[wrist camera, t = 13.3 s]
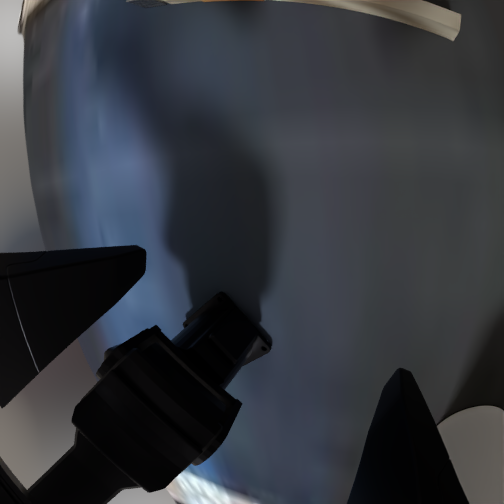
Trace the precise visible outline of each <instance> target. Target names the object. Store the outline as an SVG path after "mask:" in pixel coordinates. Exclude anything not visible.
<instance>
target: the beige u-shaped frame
mask: <svg viewBox="0 0 504 504" xmlns="http://www.w3.org/2000/svg"><path fill="white" fill-rule="evenodd" d="M198 1H203V2H213V1H264V0H127V1H126V2H128V3H132V4H135V5H138V6H141V7H144V8H150V7H156V6H162V5H167V3H170V4H178V3H187V2H198ZM275 1H289V2H300V3H309V4H317V5H324V6H331V7H337V8H343V9H348V10H353V11H358V12H363V13H367V14H372V15H376V16H380V17H384V18H388V19H391V20H395V21H398V22H402V23H405V24H408V25H411V26H414V27H418V28H421V29H423V30H426V31H429V32H432V33H435V34H437V35H440V36H442V37H445V38H448V39H450V40H452V41H454V39H455V38H456V36H457V34H458V33H459V31H460V22H461V15H460V14H458V13H455V12H453V11H450V10H448V9H445V8H443V7H440V6H437V5H434V4H432V3H429V2H426V1H423V0H275Z"/></svg>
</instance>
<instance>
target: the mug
mask: <svg viewBox="0 0 504 504" xmlns="http://www.w3.org/2000/svg"><path fill="white" fill-rule="evenodd" d="M437 428H438V430H439V433H440V435H441V437H442V440H443V442H444V445H445V447H446V449H447V452H448V454H449V457H450V458H449V459H450V460H451V462H452V464H453V467H454V469H455V472H456V474H457V477H458V479H459V482H460V484H461V486H462V488H463V490H464V493H465V495H466V497H467V499H468V501H469V504H504V411H503V410H502V409H500V408H498V407H495V406H476V407H471V408H468V409H465V410H462V411H459V412H457V413H455V414H453V415H451V416H449V417H448V418H446V419H445V420H443V421H442V422H441V423H440V424H439V425H438V426H437Z"/></svg>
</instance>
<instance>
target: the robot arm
mask: <svg viewBox="0 0 504 504" xmlns="http://www.w3.org/2000/svg"><path fill="white" fill-rule="evenodd" d="M145 270H146V250H145V249H143V248H141V247H139V246H137V245H130V246H113V247H98V248H83V249H68V250H54V251H39V252H21V253H20V252H19V253H0V406H1V408H3V407H5V406H6V405H7V404H8V403H9V402H10V401H11V400H12V399H13V398H14V397H15V396H16V395H17V394H18V393H19V392H20V391H21V390H22V389H23V388H24V387H25V386H26V385H27V384H28V383H29V382H30V381H31V380H32V379H34V378H35V376H37V375H38V374H39V373H40V372H41V371H42V370H43V369H44V368H45V367H46V366H47V365H48V364H49V363H50V362H51V361H53V360H54V359H55V358H56V357H57V356H58V355H59V354H60V353H61V352H62V351H63V350H64V349H65V348H67V346H69V345H70V344H71V343H72V342H73V341H74V340H75V339H77V338H78V337H79V336H80V335H81V334H82V333H83V332H84V331H86V330H87V329H88V328H89V327H90V326H91V325H92V324H93V323H95V322H96V321H97V320H98V319H99V318H100V317H101V316H103V315H104V314H105V313H106V312H107V311H108V310H109V309H111V308H112V307H113V306H114V305H115V304H116V303H117V302H118V301H119V300H120V299H121V298H122V297H123V296H124V295H125V294H126V293H127V292H128V291H129V290H130V289H131V288H132V287H133V286H134V285H135V284H136V283H137V282H138V281H139V279H140V278H141V277H142V276H143V275H144V273H145ZM220 297H221V298H222V299H223V300H222V299H221V298H220ZM183 326H184V329H183V330H182V331H181V332H180V333H179V334H178V335H177V336H175V337H174V338H173V339H172V340H169V339H168V338H167V337H166V336H165V335H164V334H163V333H162V332H161V329H160V328H159V327H158V326H157V325H155V326H153V327H152V328H150V329H148V328H147V329H145V330H143V331H141V332H140V333H139V334H137V335H135V336H134V337H132V338H130V339H129V340H127V341H125V342H124V343H122V344H119V345H116V346H114V347H111V348H109V349H107V350H106V351H105V353H104V362H103V363H102V365H101V367H100V368H99V369H98V371H97V373H96V376H97V377H98V378H99V379H100V380H99V381H98V382H97V384H96V385H95V386H94V387H93V388H92V389H91V390H90V391H89V392H88V393H87V394H86V395H85V396H84V397H83V398H82V400H81V401H80V403H78V404H77V405H76V407H75V409H74V413H73V416H72V423H73V425H74V426H75V427H76V433H75V442H74V445H73V446H72V447H71V448H70V449H69V450H68V451H67V452H66V453H65V454H64V455H63V456H62V457H61V458H60V459H59V460H58V461H57V462H56V463H55V464H54V465H53V466H52V467H51V468H50V469H49V470H48V471H47V472H46V473H45V474H43V475H42V477H40V478H39V479H38V480H37V481H36V482H35V483H34V484H33V485H32V486H31V487H30V488H29V489H28V490H26V488H25V487H24V486H23V485H22V484H21V483H20V481H19V480H18V479H17V478H16V476H15V475H14V474H13V473H12V472H11V470H10V469H9V468H8V466H7V465H6V464H5V463H4V461H3V460H2V458H1V457H0V504H107V503H108V502H109V501H110V500H111V499H112V498H114V497H115V496H116V495H117V494H118V493H119V492H120V491H122V490H124V489H131V488H140V487H142V488H143V489H144V490H146V491H147V492H154V491H158V490H161V489H164V488H166V487H167V486H168V485H169V484H170V483H171V482H172V481H173V479H174V478H176V477H177V476H178V475H179V474H180V473H181V472H182V471H183V470H185V469H186V468H187V467H188V466H189V465H190V464H191V463H192V464H193V465H194V466H196V465H199V464H201V463H203V462H204V461H205V460H207V459H208V458H209V457H210V456H211V455H212V454H213V453H214V452H215V451H216V450H217V449H218V448H219V447H220V445H221V444H222V443H223V441H224V440H225V438H226V437H227V435H228V433H229V431H230V429H231V427H232V424H233V422H234V420H235V418H236V416H237V414H238V412H239V410H240V408H241V406H242V403H241V402H240V401H239V400H238V399H235V398H234V397H232V396H231V395H230V394H229V393H228V392H226V391H225V388H226V387H227V386H228V385H229V383H230V382H231V381H232V379H233V378H234V377H235V375H236V374H237V373H238V371H239V370H240V369H241V367H242V366H244V365H246V364H248V363H250V362H252V361H254V360H256V359H257V358H259V357H261V356H263V355H265V354H267V353H268V352H269V351H270V350H271V345H270V343H269V342H268V341H267V340H266V339H265V338H264V337H263V336H262V334H261V333H260V332H259V331H258V330H257V329H256V328H255V327H254V326H253V324H252V323H251V322H250V321H249V320H248V319H247V318H246V317H245V316H244V314H243V313H242V312H241V311H240V310H239V309H238V308H237V306H236V305H235V304H234V303H233V302H232V301H231V300H230V298H229V297H228V296H227V295H226V294H225V293H223V292H219V293H218V294H217V295H215V296H214V297H213V298H212V299H211V300H209V301H208V302H207V303H206V304H205V305H204V306H202V307H201V308H200V309H199V310H198V311H196V312H195V313H194V314H193V315H192V316H191V317H189V318H188V319H187V320H186V321H185V322H184V323H183ZM264 347H266V348H264ZM449 458H450V457H449V454H448V452H447V449H446V447H445V445H444V442H443V440H442V437H441V435H440V433H439V430H438V428H437V426H436V424H435V421H434V419H433V417H432V415H431V412H430V410H429V408H428V406H427V404H426V402H425V399H424V397H423V395H422V393H421V391H420V389H419V387H418V385H417V383H416V381H415V379H414V377H413V375H412V373H411V372H410V371H408V370H406V369H403V368H398V369H397V370H396V371H395V373H394V374H393V375H392V377H391V378H390V379H389V381H388V382H387V383H386V385H385V386H384V388H383V390H382V393H381V396H380V399H379V402H378V405H377V408H376V411H375V414H374V417H373V420H372V423H371V425H370V428H369V431H368V435H367V438H366V442H365V446H364V450H363V453H362V457H361V461H360V464H359V468H358V471H357V474H356V478H355V481H354V484H353V487H352V490H351V493H350V496H349V499H348V502H347V504H469V501H468V499H467V497H466V495H465V493H464V490H463V488H462V486H461V484H460V482H459V479H458V477H457V474H456V472H455V469H454V467H453V464H452V462H451V460H450V459H449Z"/></svg>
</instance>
